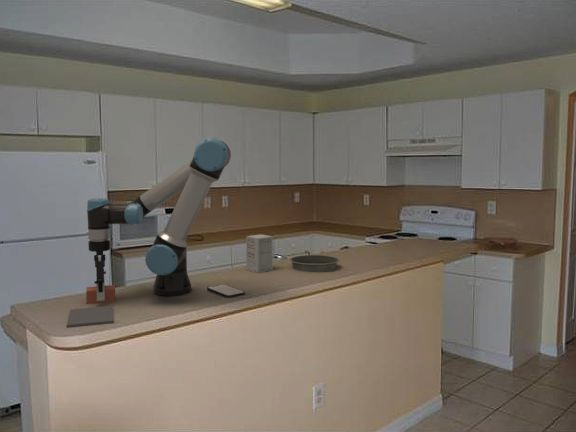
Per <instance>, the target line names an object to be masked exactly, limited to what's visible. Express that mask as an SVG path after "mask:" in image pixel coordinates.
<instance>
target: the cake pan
mask: <svg viewBox="0 0 576 432" xmlns="http://www.w3.org/2000/svg"><path fill="white" fill-rule="evenodd" d="M289 261H290V262H291V264H292V268H293V269H294V270H297V271H301V272H307V273H324V272H331V271H332V272H333V271H334V270H336V268H337V263H339V262H340V260H339V258H338V257H334V256H331V255H330V256H329V255H325V254H323V255H322V254H306V255H298V256H293V257H291V258H289Z"/></svg>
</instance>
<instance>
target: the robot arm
mask: <svg viewBox="0 0 576 432" xmlns="http://www.w3.org/2000/svg"><path fill="white" fill-rule="evenodd" d="M231 155H232V154H231V150H230V148H229V146H228V145H227V143H225V142H224V141H222V140H220V139H218V138H215V137H209V138H204V139H203V140H201V141H200V142H198V144H197V145H196V146H195V148H194V152H193V156H192V160H190V161H189V162H187V163H186V164H184V165H183V166H181V167H180V168H178V169H177V170H176V171H174V172H172V173H171V174H169V175H168V176H167V177H165V178H164V179H162V180H160V182H158V183H157V184H155V185H154V186H151V188H149V189H148V190H146V191H145V192H143V193H142V194H141V195H139V196H138V197H136V198H135V199H133V200H132V201H129V202H126V203H110V200H109V199H108V198H105V197H103V198H102V197H101V198H99V197H95V198H90V199H88V200H87V203H86V204H87V206H86V207H87V209H86V214H87V215H86V216H87V231H86V235H87V236H88V238H87V239H88V240H89V241H88V250H89V251H90V252H95V253H96V254H94V256H93V261H94V267H95V269H96V270H95V271H96V272H95V273H96V274H95V276H96V280H94V284H96V285H95V286H96V288H97V301H103V300H105V288H104V286H106V285H105V275H106V274H107V271H106V270H105V269H104V268H105V266H106V254H104V252H108V251H110V249H111V240H110V239H111V230H110V229H111V227H110V225H130V226H131V225H140V224H141V223H142V221H143V219H144V218H145V217H146V215H148V214H150V213H151V212H152V211H154V210H155V209H157V208H158V207H160V206H161V205H163V204H165V202H167V201H169V200H170V199H172V198H173V197H175V196H176V195H178V194H179V193H181V194H180V196H179V198H178V199H177V202H176V203H175V206H174V208H173V210H172V213H171V215H170V217H169V219H168V221H167V223H166V225H165V228H164V229H163V230H162V231H160V232H158V233H157V235H156V236H155V239H154V241H153V244H152V245H151V247H150V248H149V249H147V251H146V253H145V259H144V261H145V265H146V267H147V268H148V270H149V271H151V272H152V273H153V274H155V276H156V277H155V279H154V283H153V286H152V294H154V295H157V296H163V297H164V296H165V297H173V296H176V297H177V296H183V295H186V294H189V293H191V292H192V283H191V280H190V277H189V275H188V269H187V268H188V267H187V265H188V263H187V261H188V260H187V257H188V253H187V247H188V242H187V237H188V235H189V233H190V231H191V229H192V227H193V224H194V223H195V221H196V218H197V217H198V213H199V212H200V210H201V209H202V206H203V204H204V201H205V199H206V197H207V195H208V193H209V191H210V189H211V186H212V185H213V183H214V182H218V181H219V179H220V177H221V175H222V173H223V171H224V169H225V167H226V166H228V164H229V163H230V160H231Z"/></svg>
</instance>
